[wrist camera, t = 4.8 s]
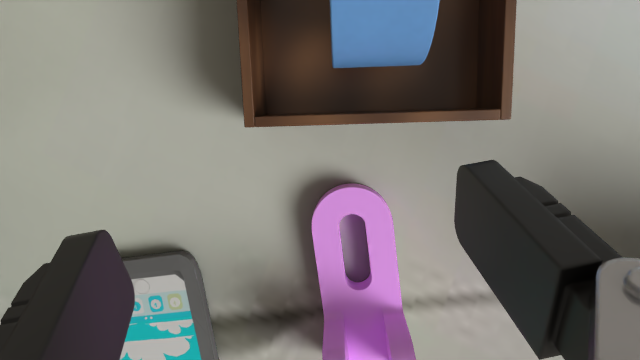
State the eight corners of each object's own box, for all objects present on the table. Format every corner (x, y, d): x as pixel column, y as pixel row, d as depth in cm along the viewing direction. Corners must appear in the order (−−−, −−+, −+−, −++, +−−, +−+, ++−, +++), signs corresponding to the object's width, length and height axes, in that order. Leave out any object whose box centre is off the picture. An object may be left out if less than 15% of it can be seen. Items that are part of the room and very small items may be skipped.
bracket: (404, 347, 33) (422, 412, 26) (331, 354, 33) (329, 421, 26) (386, 178, 30) (400, 201, 24) (307, 188, 31) (299, 214, 24)
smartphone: (193, 253, 31) (232, 437, 33) (198, 248, 32) (235, 428, 34) (79, 267, 31) (125, 447, 34) (87, 262, 32) (131, 438, 35)
